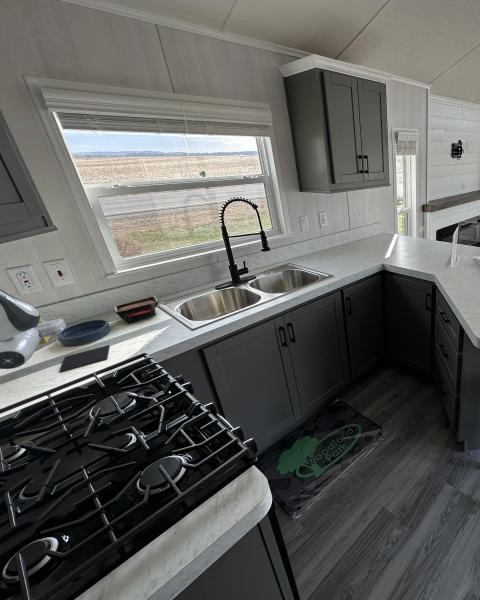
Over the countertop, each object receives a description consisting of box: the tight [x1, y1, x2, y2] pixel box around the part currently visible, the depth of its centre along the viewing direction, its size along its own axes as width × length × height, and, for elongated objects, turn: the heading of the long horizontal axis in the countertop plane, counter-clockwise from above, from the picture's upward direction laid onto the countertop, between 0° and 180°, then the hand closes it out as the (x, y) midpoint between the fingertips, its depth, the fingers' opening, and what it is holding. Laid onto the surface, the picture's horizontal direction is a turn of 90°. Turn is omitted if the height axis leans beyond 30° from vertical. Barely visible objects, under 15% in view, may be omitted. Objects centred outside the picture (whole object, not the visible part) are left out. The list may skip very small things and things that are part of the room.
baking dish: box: [113, 295, 159, 325], centre depth 163 cm, size 14×18×10 cm
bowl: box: [56, 318, 112, 347], centre depth 146 cm, size 17×17×4 cm
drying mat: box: [59, 344, 111, 373], centre depth 131 cm, size 14×12×1 cm
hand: (32, 324), depth 126 cm, fingers closed on sponge, 4 cm apart
